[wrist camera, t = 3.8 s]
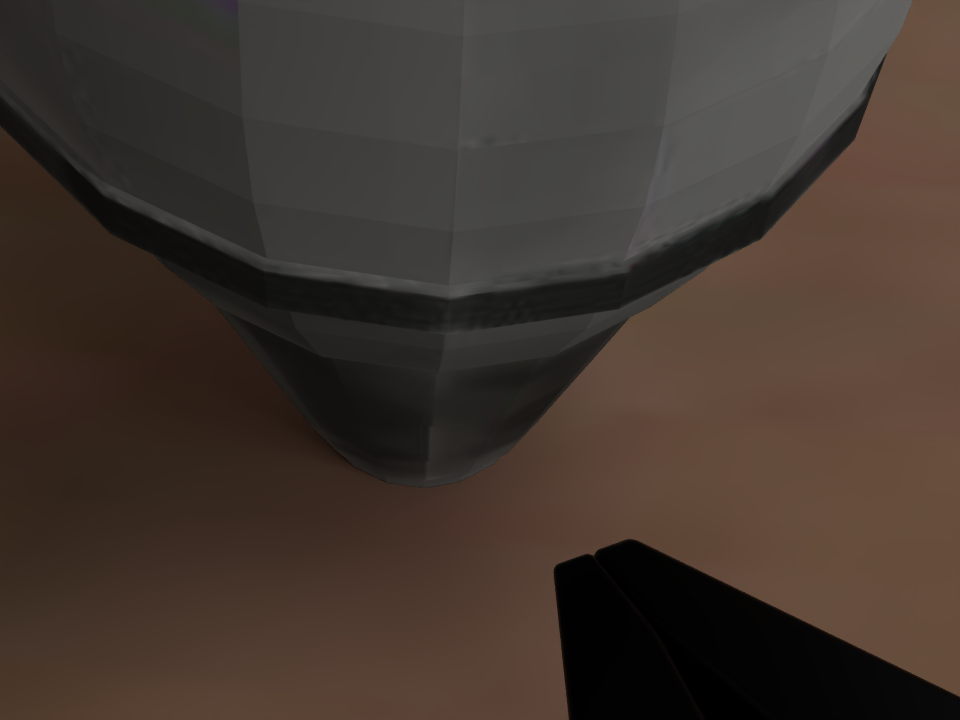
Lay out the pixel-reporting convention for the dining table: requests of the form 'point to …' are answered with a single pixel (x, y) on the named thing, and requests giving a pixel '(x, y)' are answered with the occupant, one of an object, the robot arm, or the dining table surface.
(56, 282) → the dining table surface
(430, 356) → the beverage cup
